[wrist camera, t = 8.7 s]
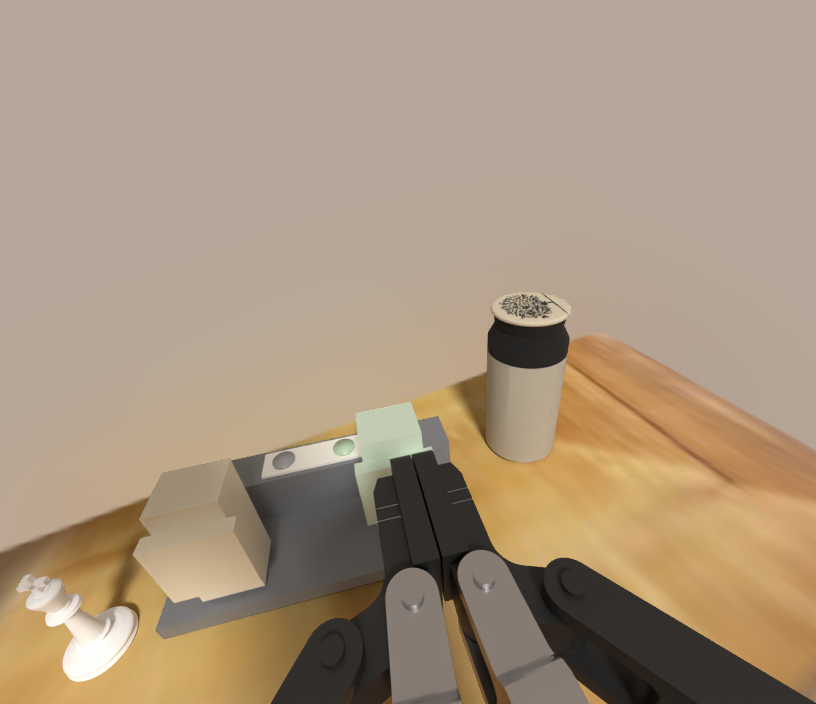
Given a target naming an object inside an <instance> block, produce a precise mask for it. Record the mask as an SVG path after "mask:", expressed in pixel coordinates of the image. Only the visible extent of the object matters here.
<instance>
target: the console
mask: <svg viewBox="0 0 816 704" xmlns="http://www.w3.org/2000/svg"><path fill="white" fill-rule="evenodd" d="M418 424H419V427H420V429H421V433H422V443H423V448H426V447H432V450H433V452H434V455H435V458H436V460H437V463H438V465H440V464H444V463H448V462H450V454H449V440H448V438H447V436H446V433H445V431H444V429H443V427H442V424H441V422H440V420H439V417H438V416H437V417H432V418H427V419H423V420H418ZM360 462H363V461H362V456H361V452H360V448H359V441H358V434H353V435H348V436H344V437H339V438H334V439H330V440H325V441H320V442H316V443H311V444H306V445H302V446H297V447H292V448H288V449H283V450H278V451H274V452H269V453H264V454H260V455H255V456H250V457H246V458H241V459H237V460H232V463H233V465H234V467H235V469H236V471H237V473H238V475H239V477H240V479H241V481H242V483H243V485H244V487H245V489H246V491H247V493H248V495H249V497H250V499H251V501H252V503H253V505H254V507H255V509H256V511H257V514H258V516H259V518H260V520H261V522H262V524H263V526H264V528H265V530H266V532H267V534H268V536H269V538H270V540H271V546H270V553H269V561H268V568H267V576H266V583H265V586H262V587H258V588H254V589H250V590H246V591H243V592H239V593H235V594H231V595H227V596H223V597H220V598H216V599H212V600H208V601H204V602H203V601H202V600H201V599H200V598H199V597H196V598H192V599H188V600H184V601H180V602H176V603H173V601H172V600H171V599H170V598H169V597H168V596H167V599H166V602H165V605H164V608H163V611H162V614H161V616H160V619H159V622H158V625H157V628H156V632H157V633H158V634H159V635H160V636H161V637H162V638H163V639H166V638H170V637H174V636H177V635H181V634H185V633H189V632H192V631H196V630H200V629H203V628H207V627H211V626H214V625H218V624H222V623H225V622H229V621H233V620H237V619H240V618H244V617H248V616H251V615H255V614H259V613H262V612H266V611H270V610H273V609H277V608H281V607H284V606H288V605H292V604H296V603H299V602H303V601H307V600H310V599H314V598H318V597H321V596H325V595H329V594H332V593H336V592H340V591H344V590H347V589H351V588H355V587H358V586H362V585H366V584H369V583H373V582H377V581H380V580H384V578H385V572H384V564H383V557H382V550H381V543H380V536H379V531H378V527H377V524H373V525H369V526H368V524H367V520H366V516H365V512H364V508H363V504H362V500H361V496H360V492H359V488H358V484H357V480H356V476H355V468H354V464H355V463H360Z"/></svg>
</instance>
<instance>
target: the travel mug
mask: <svg viewBox="0 0 816 704" xmlns="http://www.w3.org/2000/svg"><path fill="white" fill-rule="evenodd" d="M491 312H492V314H493V315H494V320H495V322H494V324H493V325H492V327H491V328H490V330H489V332H488V348H487V393H486V441H487V443H488V445H489V447H490V448H491V449H492V450H493V451H494V452H495V453H496V454H498V455H499V456H501V457H503V458H505V459H507V460H510V461H514V462H521V463H528V462H535V461H538V460H541V459H543V458H545V457H546V456H547V455H548V454H549V453H550V452H551V450H552V448H553V443H554V436H555V430H556V423H557V417H558V410H559V404H560V398H561V391H562V385H563V378H564V372H565V365H566V359H567V353H568V346H569V335H568V333H567V331H566V328H565V326H564V324H565V321H566V319H567V318H568V317H569V315H570V314H571V307H570V305H569V304H568V303H567V302H566V301H564V300H563V299H561V298H559V297H556V296H553V295H549V294H543V293H535V292H522V293H514V294H509V295H505V296H502V297H500V298H498V299H497V300H495V301H494V302H493V304H492V305H491Z"/></svg>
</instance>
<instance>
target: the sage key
mask: <svg viewBox="0 0 816 704" xmlns="http://www.w3.org/2000/svg"><path fill="white" fill-rule="evenodd" d="M355 416H356V424H357V433H358V441H359V448H360V452H361V456H362V461H363V462H360V463H355V464H354V468H355V476H356V480H357V484H358V488H359V492H360V496H361V500H362V504H363V508H364V512H365V516H366V520H367V524H368V526H369V525H373V524H377V527H378V522H377V516H376V509H375V502H374V495H373V492H374V488H375V485H376V482H377V479H378V478H382V477H387V476H391V475H392V472H391V465H390V459H392V458H397V457H401V456H406V455H412V454H415V453H419V452H424V451H428V450H432V447H426V448H423V443H422V433H421V429H420V427H419V424H418V421H417V418H416V415H415V412H414V409H413V407H412V404H411V402H407V403H402V404H398V405H393V406H388V407H383V408H378V409H373V410H369V411H364V412H359V413H356V414H355ZM432 451H433V450H432ZM411 458H412V457H411ZM378 531H379V530H378Z"/></svg>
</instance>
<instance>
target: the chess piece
mask: <svg viewBox="0 0 816 704" xmlns="http://www.w3.org/2000/svg"><path fill="white" fill-rule="evenodd" d="M20 582H21V583H20V584H19V585H18V587H17V588H16V590H17V591H18V592H24V591H28V590H30V591H32V592H31V594H30V595H29V597H28V598H27V600H26V607H27V608H28V609H30V610H34V611H43V612H47V614H46V617H45V622H46V624H47V625H48V626H50V627H53V626H57V625H60V624H62V623H64V624H65V625H66V626H67V628H68V629H69V630H70V632H71V633H72V634H73V636H74V638H73V639H72V640H71V642H70V644H69V645H68V647H67V649H66V652H65V654H64V658H63V670H64V672H65V674H66V675H67V676H68V678H69V679H71V680H73V681H77V682H81V681H86V680H89V679H92V678H94V677H96V676H98V675H100V674H102V673H103V672H105V671H106V670H107V669H109V668H110V667H111V666H112V665H113V664H114V663H115V662H117V661H118V660H119V658H120V657H121V656H122V655H123V654H124V653H125V651H126V650H127V649H128V647H129V646H130V644H131V643H132V641H133V639H134V637H135V634H136V632H137V628H138V616H137V614H136V612H135V611H134V610H132V609H130V608H128V607H125V606H116V607H112V608H109V609H107V610H105V611H103V612H101V613H99V614H98V615H96V616H95V617H94V616H92V615H90V614H88V613H86V612H84V611H83V610H81V609H79V607H80V605H81V603H82V596H81V595H80V594H76V593H72V594H68V595H67V594H66V592H65V587H64V583H63V581H62V579H60V578H53V579H50V578H49V577H48V576H46V577H42V578H38V579H37V578H36V577H35V576H34V575H33V574H28V575H24V577H23V578H22V580H21V581H20Z"/></svg>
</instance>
